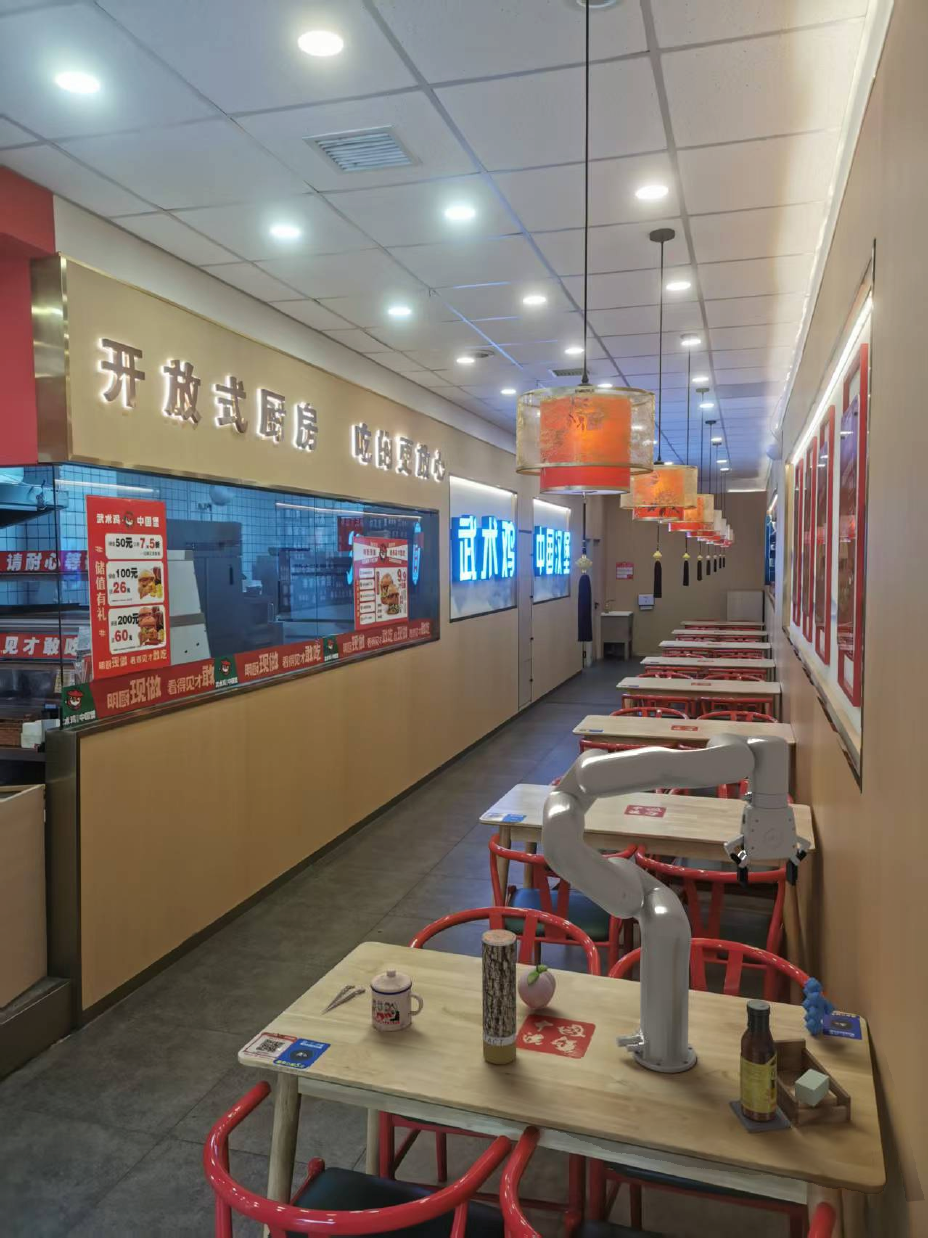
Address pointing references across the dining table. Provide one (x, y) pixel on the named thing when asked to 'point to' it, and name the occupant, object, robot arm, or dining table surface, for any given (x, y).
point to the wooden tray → (799, 1058)
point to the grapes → (815, 1006)
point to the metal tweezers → (344, 997)
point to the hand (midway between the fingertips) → (767, 884)
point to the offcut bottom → (826, 1101)
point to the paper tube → (499, 996)
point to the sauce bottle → (758, 1065)
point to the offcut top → (811, 1087)
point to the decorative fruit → (536, 987)
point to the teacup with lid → (393, 1000)
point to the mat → (752, 1125)
